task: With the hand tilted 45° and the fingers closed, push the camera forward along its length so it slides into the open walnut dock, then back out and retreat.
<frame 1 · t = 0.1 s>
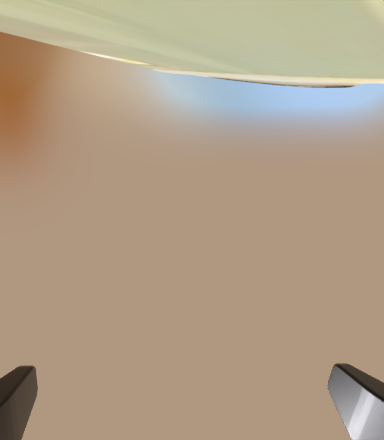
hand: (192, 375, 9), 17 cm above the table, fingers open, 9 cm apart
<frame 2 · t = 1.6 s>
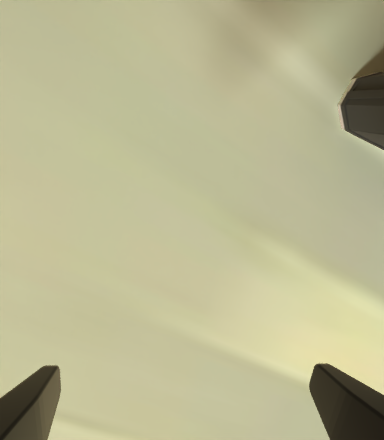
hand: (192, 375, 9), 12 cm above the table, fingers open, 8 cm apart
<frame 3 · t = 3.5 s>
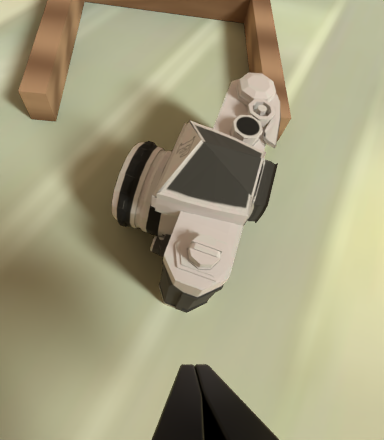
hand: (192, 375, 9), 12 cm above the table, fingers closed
camera: (187, 208, 25), on the table
dock: (162, 97, 29), on the table
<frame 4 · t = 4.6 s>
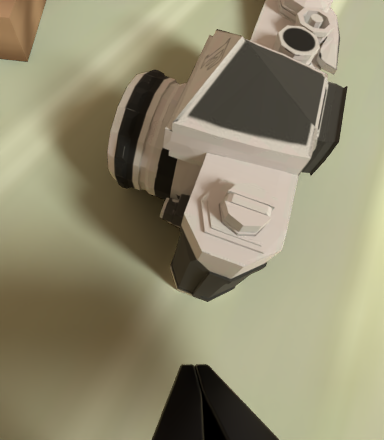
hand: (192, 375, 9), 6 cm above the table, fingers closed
camera: (204, 171, 20), on the table
dock: (161, 38, 24), on the table
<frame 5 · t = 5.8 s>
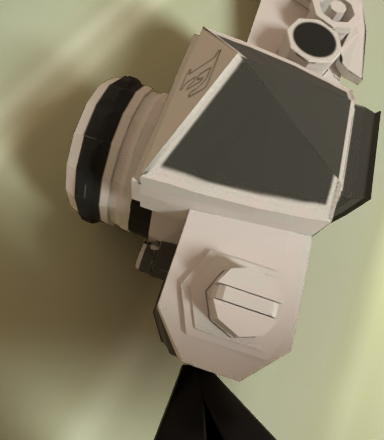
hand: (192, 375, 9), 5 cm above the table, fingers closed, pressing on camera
camera: (194, 187, 17), on the table, touching dock, gripper
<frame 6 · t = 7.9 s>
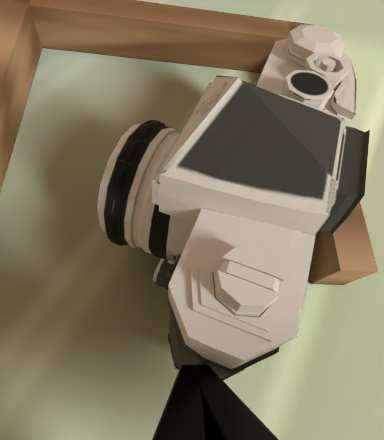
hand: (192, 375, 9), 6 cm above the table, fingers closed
camera: (212, 225, 18), on the table, touching gripper
dock: (157, 213, 18), on the table
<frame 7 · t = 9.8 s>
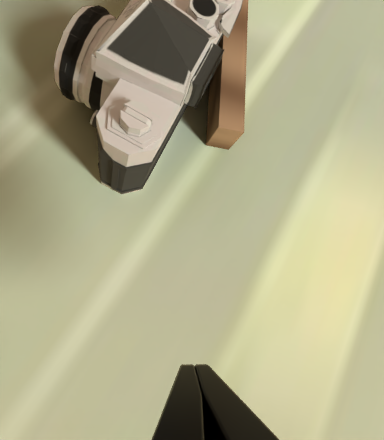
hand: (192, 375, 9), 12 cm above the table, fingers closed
camera: (139, 99, 25), on the table
dock: (98, 76, 24), on the table
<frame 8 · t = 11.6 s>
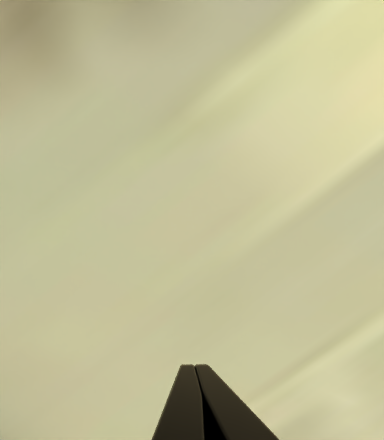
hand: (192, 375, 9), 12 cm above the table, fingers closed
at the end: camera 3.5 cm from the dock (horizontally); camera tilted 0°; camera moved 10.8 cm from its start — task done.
